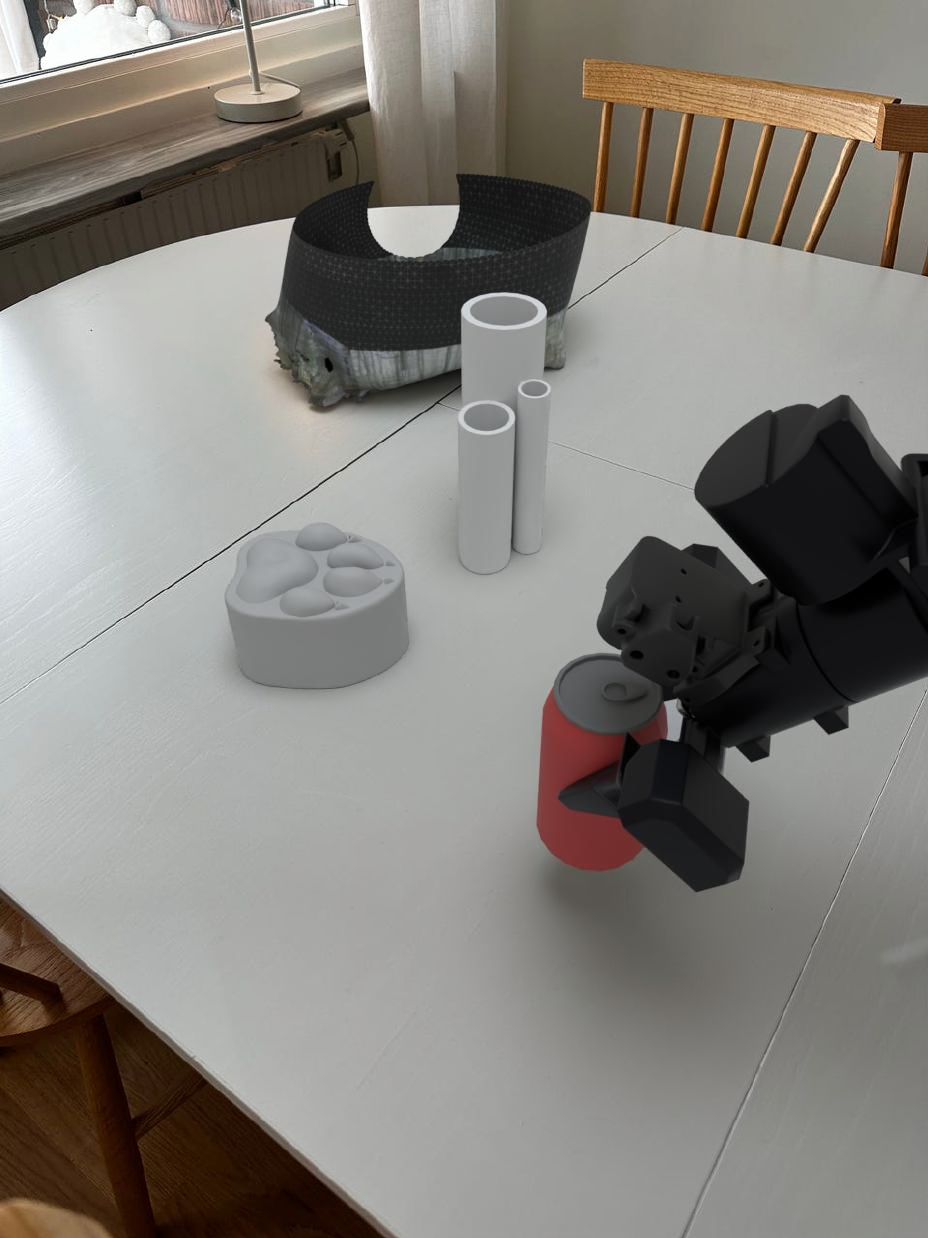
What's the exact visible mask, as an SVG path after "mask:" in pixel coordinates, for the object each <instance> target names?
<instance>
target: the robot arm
mask: <svg viewBox="0 0 928 1238" xmlns="http://www.w3.org/2000/svg"><path fill="white" fill-rule="evenodd" d="M899 465H900V467H899V466H898V465H897V463H896V462H895V461H894V460H893V458H892V457H891V456H890V454H889V453H888V451H886V449H885V448H884V447H883V445H882V444H881V442H879V440H878V439H877V438H876V437H875V435H874V434H873V432H872V430H871V428H870V424H869V422H868V420H867V418H866V416H865V415H864V412H863V411H862V410H861V409H860V407H859V406H858V405H857V404H856V402H855V401H854V400H853V399H852V397H851V395H849V394H839V395H838V396H836V397H834V398H832V399H831V400H829V401H827V402H826V403H824V404H823V405H821V406H820V407H817V406H815V405H813V404H810V403H795V404H793V405H788V406H785V407H782V408H780V409H778V410H775V411H773V410H772V409H768V410H766V411H764V412H762V413H760V414H759V415H756V416H755V417H753V418H752V419H750V421H748V422H746V423H745V424H743V425H742V426H741V427H740V428H738V429H737V430H736V431H735V432H733V434H731V435H730V436H729V437H728V438H727V439H726V440H725V441H724V442H723V443H722V444H721V445H720V446H719V447H718V448H717V449H716V450H715V451H714V453H712V455H711V456H710V457H709V459H708V460H707V461H706V463H705V464H704V466H703V467H702V469H701V471H700V472H699V474H698V477H697V478H696V481H695V484H694V487H693V494H694V499H695V500H696V501H697V504H698V503H699V505H700V506H701V507H702V508H703V510H704V511H706V513H707V514H708V515H709V516H710V517H711V518H712V520H713V521H715V522H716V524H717V525H718V526H719V527H720V528H721V529H722V530H723V531H724V533H725V534H726V535H727V536H728V537H729V538H730V539H731V540H732V541H733V542H734V543H735V544H736V546H737V547H738V548H739V549H740V551H742V552H743V554H744V555H745V556H746V557H747V558H748V559H749V560H750V561H751V562H752V564H753V565H754V566H755V567H756V568H757V569H758V570H759V571H760V573H761V574H763V575H764V577H765V578H761V579H760V580H758V581H756V582H754V583H751V582H750V580H749V579H748V578H747V577H746V576H745V575H744V573H742V571H740V569H739V568H738V567H737V566H736V565H735V564H734V563H733V562H732V561H731V559H729V557H728V556H727V555H726V554H725V553H724V552H723V551H722V550H721V549H720V548H719V547H718V546H715V545H707V544H701V543H694V542H693V543H692V544H690V545H688V546H686V547H684V548H683V549H680V548H678V547H676V546H674V545H672V544H671V543H668V542H667V541H665V540H663V539H661V538H659V537H657V536H653V535H645V536H643V537H642V538H640V540H639V541H638V542H637V543H636V545H635V546H634V547H633V549H632V550H631V551H630V552H629V553H628V555H626V557H625V558H624V560H623V561H622V562H621V564H620V565H619V566H618V567H617V569H615V570H614V572H613V573H612V574H611V576H610V577H609V578H608V579H607V582H606V585H605V594H604V598H603V601H602V604H601V609H600V612H599V613H598V615H597V619H596V624H595V625H596V630H597V632H598V635H599V636H600V637H601V640H603V641H604V642H605V643H607V644H608V645H609V646H611V647H612V648H614V649H616V650H618V651H620V654H619V655H620V658H621V661H622V664H623V665H624V666H625V667H626V668H628V669H630V670H632V671H634V672H636V673H637V674H639V675H641V676H643V677H645V678H647V679H649V680H651V681H653V682H654V683H656V684H658V685H660V686H662V688H663V701H664V702H665V701H670V700H675V699H677V703H676V708H677V710H678V712H679V713H680V714H681V715H682V716H683V718H682V725H681V732H680V738H679V742H677V741H672V740H667V739H661V738H660V739H658V740H655V741H653V742H650V743H648V744H645V745H643V746H642V745H641V744H640V743H639V742H638V741H637V740H636V739H635V738H634V737H633V736H632V735H631V734H629V733H628V732H627V733H626V734H625V737H624V742H623V747H622V751H621V756H620V760H618V761H616V762H614V763H612V764H610V765H608V766H606V767H604V768H602V769H600V770H598V771H596V772H594V773H592V774H590V775H588V776H586V777H584V778H582V779H580V780H578V781H576V782H574V783H573V784H571V785H569V786H568V787H566V788H565V789H563V790H562V791H560V792H559V794H558V800H559V801H560V802H561V803H562V804H563V805H564V806H565V807H567V808H568V809H570V810H574V811H579V812H585V813H590V814H596V815H601V816H607V817H612V818H618V819H620V820H621V823H622V826H623V828H624V829H625V830H626V831H627V832H629V833H630V834H631V835H632V836H633V837H634V838H635V839H636V840H638V841H639V842H640V843H641V844H642V845H643V846H644V848H645V849H646V850H648V851H649V852H650V853H651V854H652V855H653V856H654V857H656V858H657V859H658V860H659V861H660V862H661V863H662V864H663V865H664V866H665V867H667V868H668V869H669V870H670V871H671V872H672V873H673V874H675V875H676V876H677V877H678V878H679V879H680V880H681V881H683V882H684V883H685V884H686V885H687V886H688V887H689V888H690V889H692V890H693V891H694V892H695V893H700V892H703V891H708V890H710V889H714V888H718V887H722V886H725V885H728V884H730V883H733V882H736V881H739V880H740V878H741V876H742V872H743V869H744V866H745V861H746V851H747V838H748V835H747V834H748V825H749V824H748V823H749V811H750V800H749V799H747V797H745V795H744V794H743V793H742V792H740V791H739V790H738V789H737V788H736V787H735V786H734V785H733V784H732V783H731V782H730V781H729V780H728V779H727V778H726V777H725V776H724V771H725V762H726V753H727V749H731V748H733V747H735V748H736V749H737V750H738V751H739V752H740V753H741V754H742V755H743V756H744V757H745V759H746V760H748V761H749V762H750V763H751V764H752V763H755V762H758V761H761V760H763V759H766V758H769V757H770V754H771V739H772V736H774V735H776V734H779V733H782V732H784V731H787V730H790V729H792V728H796V727H798V726H800V725H804V724H806V723H808V722H811V721H815V723H816V724H817V725H818V726H820V728H821V729H822V730H823V731H824V732H825V734H827V735H828V736H830V735H832V734H835V733H838V732H841V731H845V730H847V729H849V727H850V721H849V719H850V718H849V717H850V715H849V713H850V710H849V707H852V706H853V705H856V704H859V703H861V702H865V701H867V700H869V699H872V698H875V697H877V696H880V695H883V694H886V693H888V692H890V691H893V690H896V689H898V688H902V687H904V686H906V685H910V684H912V683H915V682H917V681H920V680H923V679H926V678H928V453H922V452H921V453H920V452H919V453H918V452H917V453H916V452H915V453H913V452H911V453H907V454H904V455H903V456H902V457H901V459H900V462H899Z"/></svg>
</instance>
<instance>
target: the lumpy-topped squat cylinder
mask: <svg viewBox="0 0 928 1238" xmlns="http://www.w3.org/2000/svg"><path fill="white" fill-rule="evenodd" d="M235 566H236V568H235V572H234V574H233V576H232V578H231V580H230V581H229V584H228V585H227V587H226V589H225V592H224V603H225V607H226V612H227V616H228V620H229V625H230V629H231V633H232V638H233V642H234V646H235V650H236V655H237V658H238V663H239V667H240V668H239V669H240V670H241V672H242V673H243V675H244V676H246V678H248V680H251V681H253V682H256V683H258V684H260V685H264V686H269V687H279V688H289V689H290V688H291V689H336V688H344V687H348V686H351V685H354V684H357V683H361V682H363V681H365V680H368V679H370V678H373V677H375V676H377V675H380V674H381V673H383V672H385V671H386V670H388V669H389V668H391V667H392V666H393V665H394V664H396V663H397V662H398V661H399V660H401V659H402V658H403V656H404V655H405V654H406V653H407V650H408V647H409V641H410V638H409V623H408V607H407V605H408V604H407V593H406V592H407V591H406V577H405V576H406V575H405V570H404V567H403V564H402V563H401V561H400V559H398V557H397V556H396V555H395V554H394V553H393V552H391V550H389V549H388V548H387V547H385V546H384V545H382V544H380V543H378V542H377V541H374V540H371V539H370V538H367V537H364V536H362V535H359V534H356V533H352V532H347V531H346V532H345V531H342V530H341V529H339V528H338V527H336V526H335V525H333V524H331V523H328V522H321V521H320V522H313V523H310V524H307V525H305V526H304V527H302V529H300V530H278V531H270V532H265V533H262V534H259V535H257V536H255V537H253V538H250V539H249V540H248V541H246V542H245V543H244V544H242V546H241V547H240V548H239V550H238V552H237V556H236V565H235Z"/></svg>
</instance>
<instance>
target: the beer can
mask: <svg viewBox="0 0 928 1238" xmlns="http://www.w3.org/2000/svg"><path fill="white" fill-rule="evenodd" d="M620 655H621V654H619V653H612V652H611V653H610V652H595V653H590V654H584V655H582V656H579V657H577V658H574V659H572V660H570V661H568V663H566V664H565V666H563V667H561V669H560V670H559V672H558V673H557V675H556V677H555V678H554V681H553V686H552V688H551V689H550V691H549V693H548V695H547V697H546V699H545V701H544V703H543V707H542V714H541V716H542V718H541V735H540V751H539V770H538V785H537V786H538V787H537V788H538V789H537V805H536V807H537V808H536V820H535V821H536V822H535V823H536V824H535V825H536V828H537V832H538V835H539V838H540V841H541V842H542V844H544V846H545V847H546V849H547V850H548V851H549V852H550V854H552V856H554V857H555V858H557V859H558V860H559V861H561V862H562V863H563V864H565V865H568V866H570V867H573V868H576V869H579V870H581V871H590V872H604V871H610V870H615V869H619V868H620V867H622V866H624V865H626V864H628V863H630V862H632V861H633V860H634V859H635V858H636V857H637V856H638V855H639V854H640V853H641V851H643V849H644V848H645V847H644V846H643V845H642V844H641V843H640V842H639V841H638V840H636V839H635V838H634V837H633V836H632V835H631V834H630V833H629V832H627V831H626V830H625V829H624V828H623V826H622V823H621V820H620V819H618V818H612V817H607V816H601V815H596V814H590V813H585V812H579V811H574V810H570V809H568V808H567V807H565V806H564V805H563V804H562V803H561V802H560V801H559V800H558V794H559V792H560V791H562V790H563V789H565V788H566V787H568V786H569V785H571V784H573V783H574V782H576V781H578V780H580V779H582V778H584V777H586V776H588V775H590V774H592V773H594V772H596V771H598V770H600V769H602V768H604V767H606V766H608V765H610V764H612V763H614V762H616V761H618V760H620V756H621V751H622V747H623V742H624V737H625V734H626V733H627V732H628V733H629V734H631V735H632V736H633V737H634V738H635V739H636V740H637V741H638V742H639V743H640V744H641V745H642V746H643V745H645V744H648V743H650V742H653V741H655V740H658V739H660V738H661V739H667V734H668V721H667V711H666V706H665V704H664V701H663V688H662V686H660V685H658V684H656V683H654V682H653V681H651V680H649V679H647V678H645V677H643V676H641V675H639V674H637V673H636V672H634V671H632V670H630V669H628V668H626V667H625V666H624V665H623V664H622V661H621V658H620Z"/></svg>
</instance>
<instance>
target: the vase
mask: <svg viewBox="0 0 928 1238" xmlns="http://www.w3.org/2000/svg"><path fill="white" fill-rule="evenodd" d="M546 319H547V310H546V308H545V305H543V304H542V303H541V302H540V301H539V300H536V299H534V298H532V297H530V296H526V295H521V294H516V293H490V294H485V295H480V296H478V297H475V298H473V299H470V300H469V301H468V302H466V303H465V304H464V305H463V307H462V309H461V350H462V368H461V409H459V412H458V414H457V456H458V457H457V460H458V461H457V465H458V467H457V468H458V469H457V471H458V473H457V474H458V475H457V477H458V545H459V546H458V552H459V553H458V554H459V561H460V563H461V564H462V566H463V567H464V568H465V569H467V570H468V571H469V572H472V573H474V574H480V575H493V574H495V573H498V572H500V571H502V570H503V569H505V568H506V567H507V565H508V564H509V563H510V560H511V554H512V553H511V552H512V548H513V549H514V551H516V552H518V553H519V554H522V555H533V554H536V553H537V552H538V551H540V549H541V548H542V539H543V526H544V525H543V524H544V507H545V494H546V493H545V492H546V491H545V490H546V478H547V477H546V475H547V462H548V461H547V460H548V445H549V430H550V427H549V426H550V411H551V396H552V388H551V385H550V384H549V383H548V382H546V381H545V380H544V373H545V372H544V370H545V367H544V355H545V337H546Z"/></svg>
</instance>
